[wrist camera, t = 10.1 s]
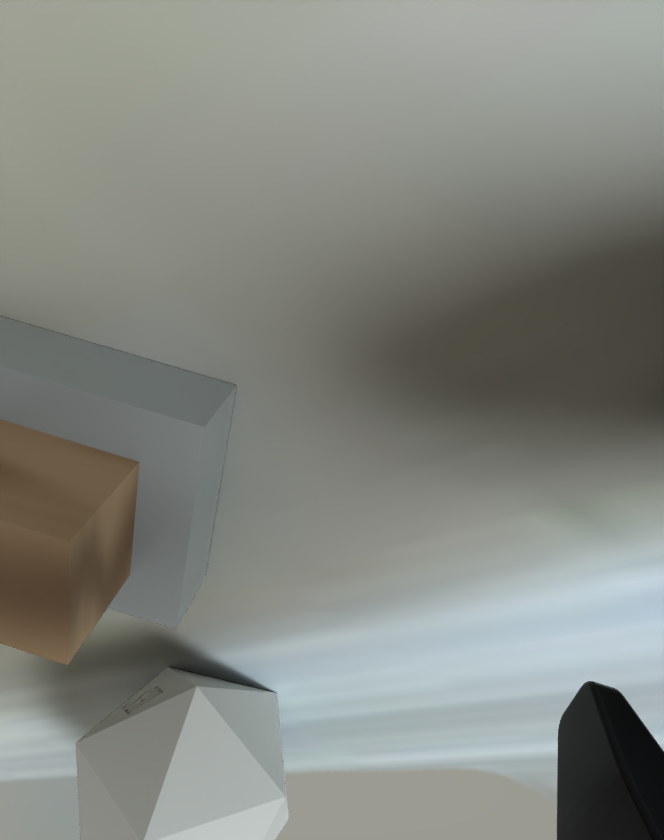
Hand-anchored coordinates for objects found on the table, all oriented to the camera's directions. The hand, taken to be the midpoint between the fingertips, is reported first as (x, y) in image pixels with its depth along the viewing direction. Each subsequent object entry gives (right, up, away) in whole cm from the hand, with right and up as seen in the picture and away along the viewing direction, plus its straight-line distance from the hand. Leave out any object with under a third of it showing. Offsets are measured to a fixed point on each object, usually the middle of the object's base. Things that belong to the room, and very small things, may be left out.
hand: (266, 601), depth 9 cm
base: (-8, +1, +15) cm, 17 cm away
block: (-8, 0, +12) cm, 15 cm away
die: (-4, -11, +21) cm, 24 cm away
